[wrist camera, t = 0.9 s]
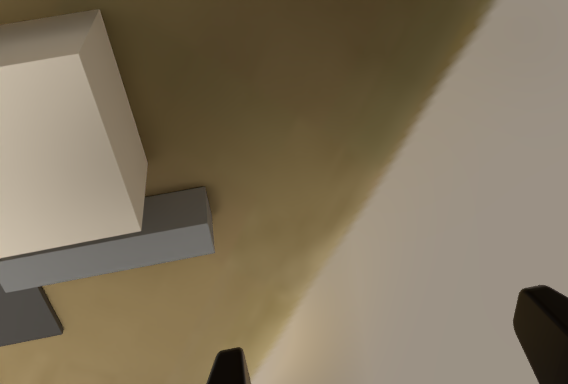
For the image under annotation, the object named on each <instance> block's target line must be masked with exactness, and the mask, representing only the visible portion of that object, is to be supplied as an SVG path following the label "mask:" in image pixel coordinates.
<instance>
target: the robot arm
mask: <svg viewBox="0 0 568 384" xmlns="http://www.w3.org/2000/svg"><path fill="white" fill-rule="evenodd" d="M513 325H514V330H515V333H516V335H517V337H518V339H519V342H520V344H521V346H522V348H523V350H524V352H525V354H526V356H527V359H528V361H529V363H530V365H531V367H532V369H533V371H534V374H535V376H536V378H537V380H538V382H539V384H568V297H566V296H564V295H563V294H561V293H559V292H557V291H556V290H554V289H552V288H550V287H548V286H545V285H538V286H533V287H528V288H524V289H522V290H521V291H520V292H519V296H518V300H517V305H516V309H515V314H514V319H513ZM206 384H251V382H250V377H249V373H248V368H247V364H246V360H245V356H244V352H243V349H242V348H240V347H237V348H232V349H227V350H222V351H220V352H219V353H218V354H217V356H216V358H215V361H214V364H213V366H212V369H211V372H210V375H209V378H208V381H207V383H206Z"/></svg>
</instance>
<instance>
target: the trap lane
mask: <svg viewBox="0 0 568 384" xmlns="http://www.w3.org/2000/svg"><path fill="white" fill-rule="evenodd" d="M212 253H215V248H214V236H213V225H212V214H211V210H210V206H209V202H208V197H207V193H206V189H205V187H200V188H195V189H189V190H183V191H178V192H172V193H167V194H161V195H156V196H150V197H145V198H144V208H143V219H142V229H141V231H139V232H134V233H129V234H123V235H118V236H113V237H108V238H103V239H98V240H92V241H87V242H82V243H77V244H72V245H66V246H61V247H56V248H51V249H46V250H41V251H35V252H30V253H25V254H20V255H15V256H9V257H4V258H0V347H1V346H6V345H11V344H16V343H21V342H26V341H31V340H36V339H41V338H46V337H51V336H56V335H61V334H63V330H64V329H63V327H62V325H61V323H60V321H59V320H58V318H57V316H56V314H55V312H54V310H53V308H52V306H51V304H50V302H49V301H48V299H47V297H46V295H45V293H44V291H43V289H42V287H41V286H44V285H50V284H55V283H60V282H65V281H71V280H76V279H81V278H86V277H92V276H97V275H102V274H107V273H113V272H118V271H123V270H128V269H134V268H139V267H144V266H149V265H155V264H160V263H165V262H170V261H176V260H181V259H186V258H191V257H197V256H202V255H207V254H212Z"/></svg>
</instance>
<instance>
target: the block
mask: <svg viewBox="0 0 568 384" xmlns="http://www.w3.org/2000/svg"><path fill="white" fill-rule="evenodd" d="M147 167H148V162H147V159H146V155H145V152H144V149H143V146H142V143H141V139H140V136H139V133H138V130H137V127H136V124H135V120H134V117H133V114H132V111H131V108H130V104H129V101H128V98H127V95H126V92H125V89H124V85H123V82H122V79H121V76H120V73H119V69H118V66H117V63H116V60H115V57H114V54H113V50H112V47H111V44H110V41H109V38H108V34H107V31H106V28H105V25H104V22H103V19H102V15H101V12H100V9H96V10H89V11H83V12H77V13H71V14H65V15H59V16H52V17H46V18H40V19H34V20H28V21H22V22H15V23H9V24H3V25H0V258H4V257H9V256H15V255H20V254H25V253H30V252H35V251H41V250H46V249H51V248H56V247H61V246H66V245H72V244H77V243H82V242H87V241H92V240H98V239H103V238H108V237H113V236H118V235H123V234H129V233H134V232H139V231H141V229H142V219H143V208H144V198H145V188H146V178H147Z"/></svg>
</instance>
